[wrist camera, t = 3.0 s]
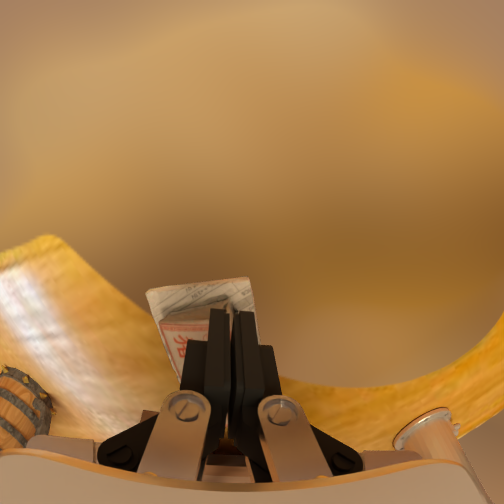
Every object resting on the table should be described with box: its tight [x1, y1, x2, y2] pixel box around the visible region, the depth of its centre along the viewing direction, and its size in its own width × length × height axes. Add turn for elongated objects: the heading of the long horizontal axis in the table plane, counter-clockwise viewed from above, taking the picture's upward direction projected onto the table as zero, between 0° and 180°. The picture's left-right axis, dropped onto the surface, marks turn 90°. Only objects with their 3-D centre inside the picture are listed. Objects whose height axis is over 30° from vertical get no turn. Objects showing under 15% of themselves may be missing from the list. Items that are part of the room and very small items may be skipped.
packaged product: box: [145, 276, 261, 427], centre depth 28 cm, size 18×5×10 cm
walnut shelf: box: [140, 410, 251, 483], centre depth 33 cm, size 19×12×9 cm, turn 82°
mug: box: [0, 366, 56, 451], centre depth 23 cm, size 13×17×20 cm
